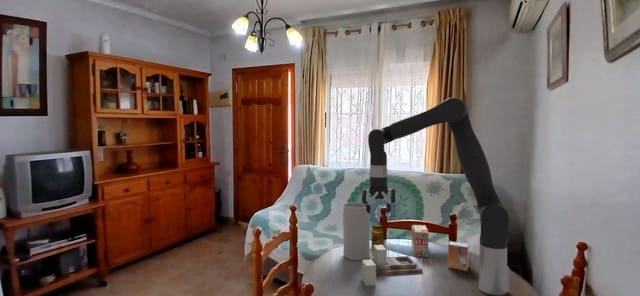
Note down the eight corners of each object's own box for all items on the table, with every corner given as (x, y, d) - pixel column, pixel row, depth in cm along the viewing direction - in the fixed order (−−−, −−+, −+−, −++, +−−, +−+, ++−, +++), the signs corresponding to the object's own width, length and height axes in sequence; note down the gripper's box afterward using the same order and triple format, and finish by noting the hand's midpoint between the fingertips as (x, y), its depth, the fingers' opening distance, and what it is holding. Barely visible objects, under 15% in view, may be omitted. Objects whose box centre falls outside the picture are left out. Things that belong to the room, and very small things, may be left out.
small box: (447, 268, 147) (447, 244, 147) (449, 263, 152) (449, 240, 152) (467, 271, 144) (467, 247, 143) (468, 266, 149) (468, 243, 148)
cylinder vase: (341, 260, 157) (341, 207, 156) (345, 250, 170) (345, 201, 168) (368, 262, 154) (368, 208, 153) (370, 252, 167) (370, 202, 165)
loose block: (371, 278, 137) (371, 259, 137) (375, 285, 131) (375, 265, 131) (362, 279, 137) (362, 259, 136) (366, 285, 131) (366, 265, 130)
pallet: (409, 260, 156) (409, 254, 156) (422, 272, 142) (422, 265, 142) (363, 263, 153) (363, 256, 153) (372, 276, 139) (372, 269, 139)
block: (382, 262, 150) (382, 244, 150) (386, 267, 144) (386, 249, 144) (373, 262, 150) (373, 245, 149) (377, 268, 144) (377, 249, 143)
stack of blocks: (411, 242, 182) (411, 220, 181) (423, 243, 181) (423, 220, 180) (414, 256, 161) (414, 231, 160) (428, 257, 160) (428, 232, 159)
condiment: (369, 249, 171) (369, 226, 171) (372, 244, 179) (372, 222, 179) (383, 251, 169) (383, 227, 168) (386, 245, 177) (386, 223, 176)
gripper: (364, 177, 139) (364, 215, 140) (397, 176, 141) (397, 214, 141) (360, 174, 146) (360, 211, 147) (391, 174, 148) (391, 210, 149)
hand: (378, 212), depth 144 cm, fingers open, 8 cm apart
